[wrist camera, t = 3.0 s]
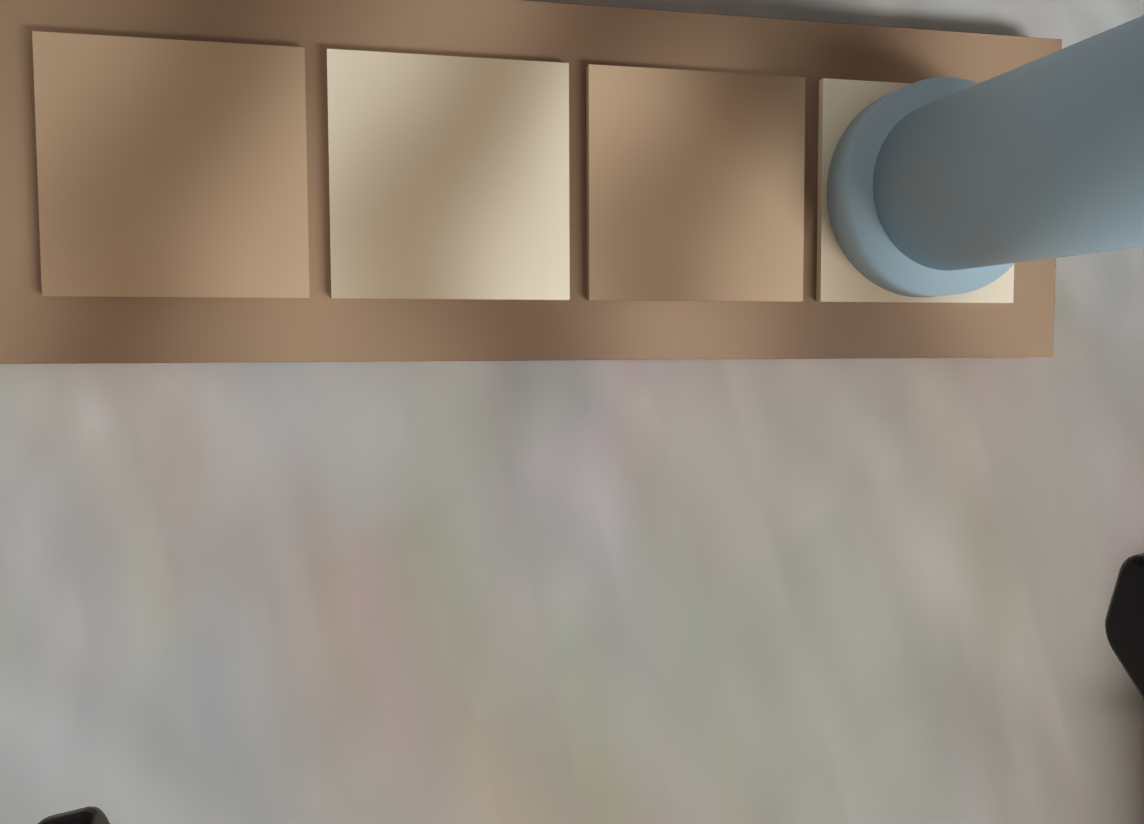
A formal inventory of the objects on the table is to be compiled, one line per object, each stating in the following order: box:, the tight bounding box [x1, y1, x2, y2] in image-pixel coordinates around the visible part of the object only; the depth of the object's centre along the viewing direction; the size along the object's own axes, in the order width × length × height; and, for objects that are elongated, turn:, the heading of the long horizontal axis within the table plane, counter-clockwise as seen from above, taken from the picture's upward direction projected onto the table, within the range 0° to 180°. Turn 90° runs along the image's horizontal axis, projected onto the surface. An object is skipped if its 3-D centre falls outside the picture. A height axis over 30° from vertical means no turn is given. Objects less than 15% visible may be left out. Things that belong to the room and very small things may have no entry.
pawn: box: [827, 16, 1144, 297], centre depth 16 cm, size 4×4×12 cm
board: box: [0, 0, 1062, 364], centre depth 21 cm, size 22×7×1 cm, turn 90°
